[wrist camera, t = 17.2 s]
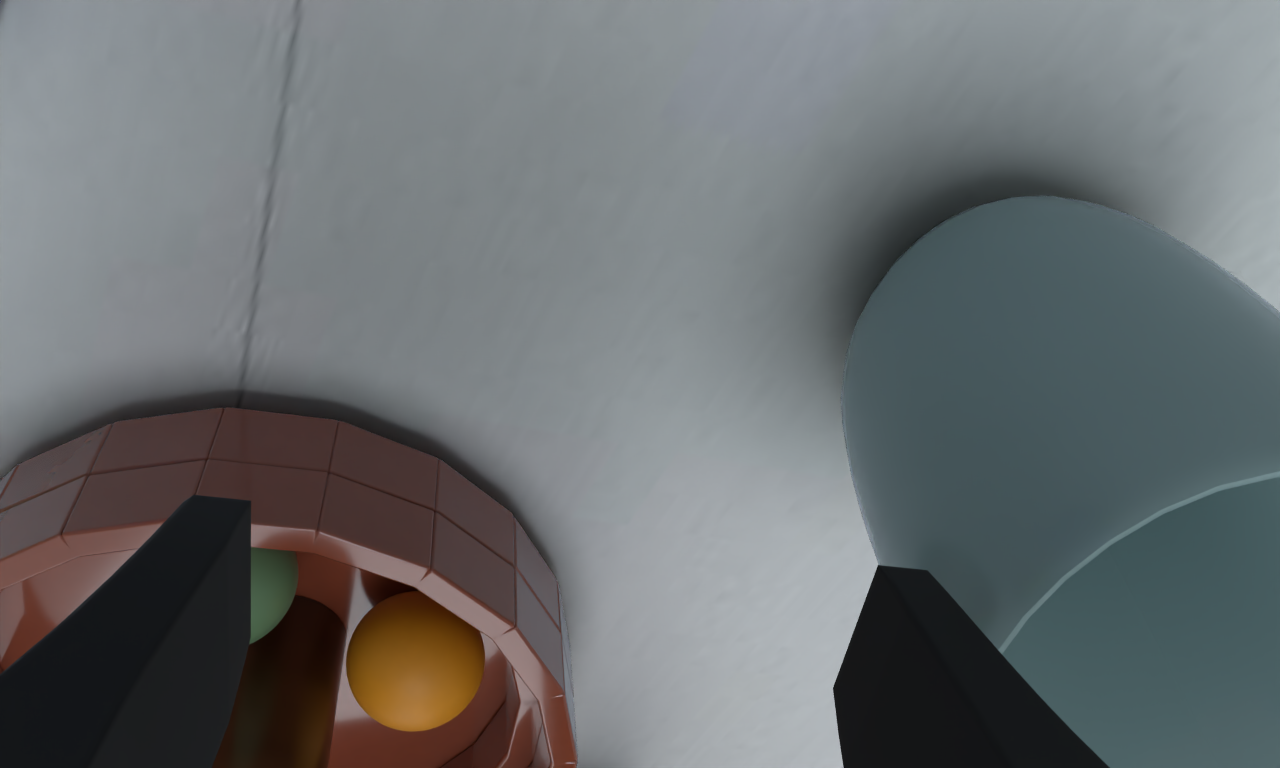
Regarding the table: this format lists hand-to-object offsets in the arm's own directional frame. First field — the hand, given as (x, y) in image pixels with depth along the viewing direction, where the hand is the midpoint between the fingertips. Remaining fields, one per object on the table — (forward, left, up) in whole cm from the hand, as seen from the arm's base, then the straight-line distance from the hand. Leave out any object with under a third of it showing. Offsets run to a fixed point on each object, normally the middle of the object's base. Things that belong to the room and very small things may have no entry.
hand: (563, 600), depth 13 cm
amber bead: (+2, -10, -8) cm, 13 cm away
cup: (+9, +2, -11) cm, 14 cm away
